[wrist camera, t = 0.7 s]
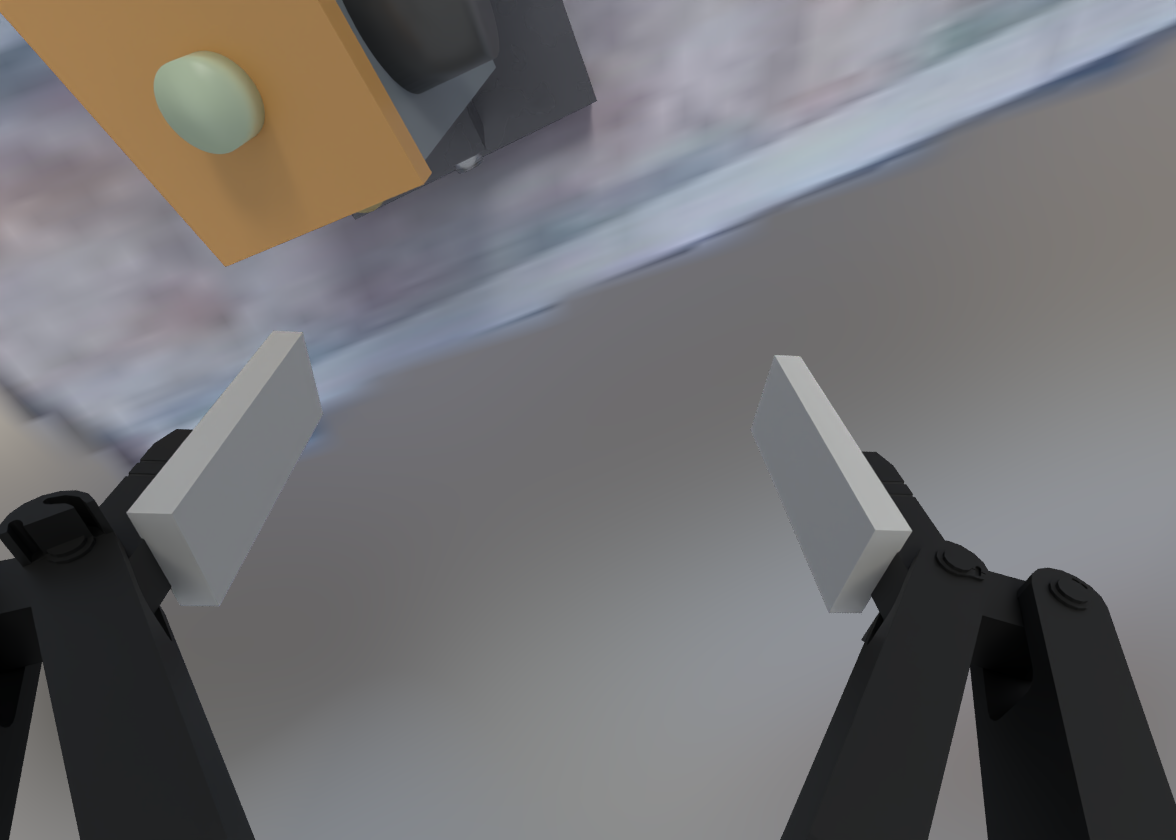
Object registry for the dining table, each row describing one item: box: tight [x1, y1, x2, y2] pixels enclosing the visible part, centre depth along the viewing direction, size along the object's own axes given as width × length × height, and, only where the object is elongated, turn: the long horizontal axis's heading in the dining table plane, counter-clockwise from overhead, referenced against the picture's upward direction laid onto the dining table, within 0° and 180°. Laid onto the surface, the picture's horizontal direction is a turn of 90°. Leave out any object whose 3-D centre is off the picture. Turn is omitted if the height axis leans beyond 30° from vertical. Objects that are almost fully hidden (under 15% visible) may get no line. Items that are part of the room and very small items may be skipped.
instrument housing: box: [0, 0, 499, 267], centre depth 22 cm, size 11×9×16 cm
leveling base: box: [352, 0, 597, 219], centre depth 28 cm, size 16×16×8 cm
